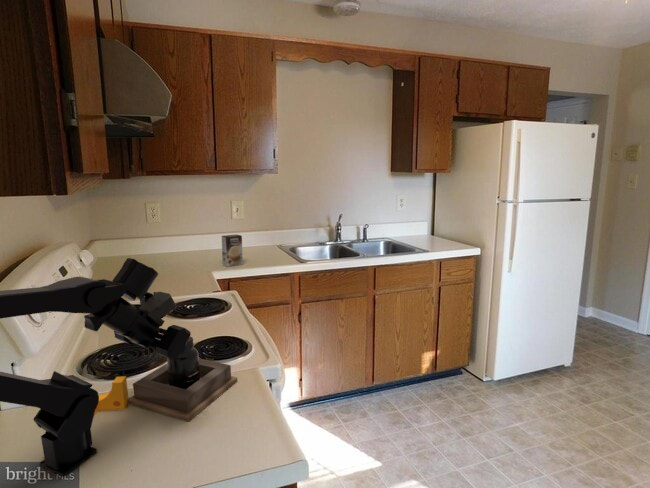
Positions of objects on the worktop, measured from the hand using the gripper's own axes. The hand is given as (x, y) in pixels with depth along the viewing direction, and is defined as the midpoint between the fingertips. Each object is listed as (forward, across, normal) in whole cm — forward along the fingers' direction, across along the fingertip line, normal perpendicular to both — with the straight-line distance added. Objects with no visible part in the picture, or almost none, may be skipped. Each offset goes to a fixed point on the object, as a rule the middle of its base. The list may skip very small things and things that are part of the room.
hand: (176, 350), depth 89 cm
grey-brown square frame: (+9, 0, +7) cm, 11 cm away
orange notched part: (-1, +11, +17) cm, 21 cm away
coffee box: (+77, +80, -62) cm, 128 cm away
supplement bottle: (+8, 0, +6) cm, 10 cm away
